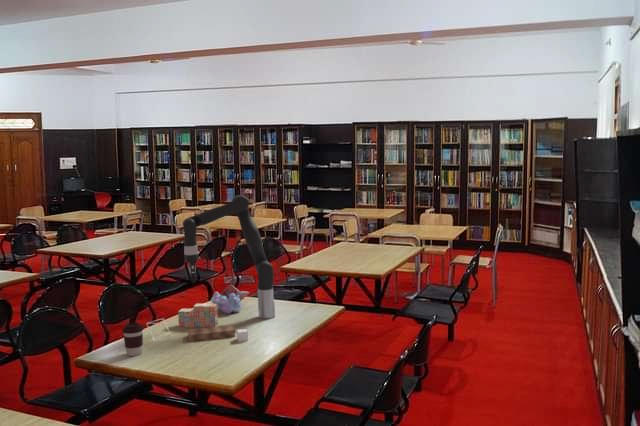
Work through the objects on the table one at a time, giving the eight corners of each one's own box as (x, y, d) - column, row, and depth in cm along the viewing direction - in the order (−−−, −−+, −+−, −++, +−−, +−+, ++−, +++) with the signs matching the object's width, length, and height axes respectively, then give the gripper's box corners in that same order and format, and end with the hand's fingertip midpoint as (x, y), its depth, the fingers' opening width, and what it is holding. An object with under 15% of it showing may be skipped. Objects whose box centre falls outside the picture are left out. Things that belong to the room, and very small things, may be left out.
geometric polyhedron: (143, 338, 309) (142, 322, 308) (161, 333, 318) (160, 317, 317) (157, 342, 301) (156, 326, 300) (174, 337, 310) (173, 320, 309)
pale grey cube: (246, 338, 305) (246, 328, 304) (248, 340, 300) (247, 331, 300) (237, 339, 304) (236, 329, 303) (238, 342, 299) (238, 332, 298)
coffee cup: (128, 350, 290) (126, 321, 288) (147, 350, 290) (145, 321, 288) (120, 357, 280) (118, 327, 278) (140, 357, 280) (139, 327, 278)
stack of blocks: (178, 327, 328) (177, 306, 327) (182, 324, 334) (181, 303, 333) (215, 327, 326) (214, 306, 324) (218, 324, 332) (217, 303, 331)
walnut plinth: (232, 332, 317) (232, 324, 317) (235, 337, 308) (234, 330, 307) (188, 336, 311) (187, 329, 311) (189, 342, 301) (188, 335, 301)
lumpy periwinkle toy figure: (207, 308, 348) (221, 283, 347) (208, 298, 369) (222, 274, 368) (236, 323, 352) (250, 298, 351) (236, 312, 373) (250, 289, 372)
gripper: (198, 254, 321) (200, 283, 322) (197, 250, 334) (198, 278, 336) (185, 255, 319) (186, 284, 320) (183, 251, 332) (185, 279, 334)
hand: (193, 281), depth 328 cm, fingers open, 8 cm apart
